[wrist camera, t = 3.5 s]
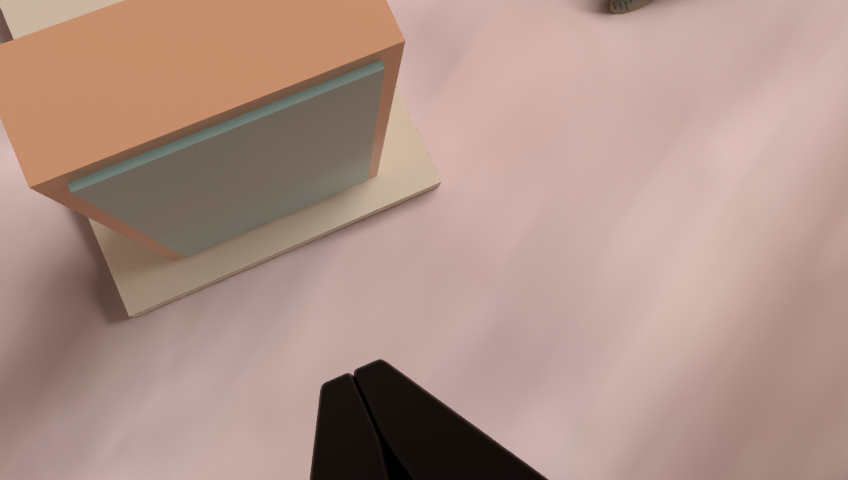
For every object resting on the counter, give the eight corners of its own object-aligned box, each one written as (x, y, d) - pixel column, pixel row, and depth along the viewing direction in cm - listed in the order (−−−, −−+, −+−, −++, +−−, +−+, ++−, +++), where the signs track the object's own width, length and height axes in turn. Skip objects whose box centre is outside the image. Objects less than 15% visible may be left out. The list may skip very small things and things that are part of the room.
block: (379, 180, 20) (409, 49, 11) (175, 266, 19) (33, 197, 10) (345, 106, 20) (348, -80, 11) (142, 187, 19) (-27, 53, 10)
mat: (438, 186, 21) (441, 181, 20) (135, 317, 19) (128, 316, 19) (275, -163, 22) (274, -177, 21) (-24, -65, 20) (-35, -77, 20)
